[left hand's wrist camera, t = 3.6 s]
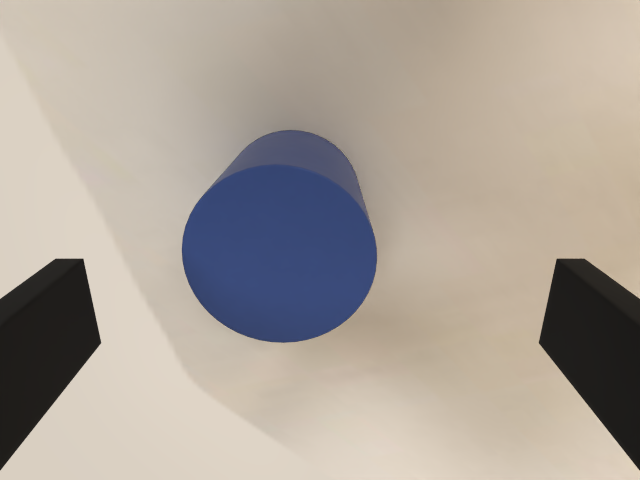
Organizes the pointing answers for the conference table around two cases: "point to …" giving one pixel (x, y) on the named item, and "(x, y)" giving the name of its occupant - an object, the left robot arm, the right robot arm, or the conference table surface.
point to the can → (282, 240)
